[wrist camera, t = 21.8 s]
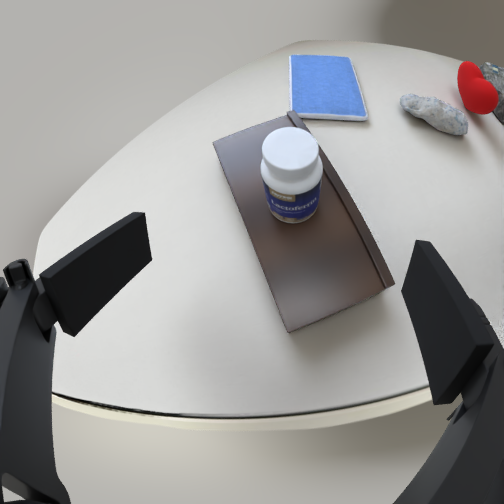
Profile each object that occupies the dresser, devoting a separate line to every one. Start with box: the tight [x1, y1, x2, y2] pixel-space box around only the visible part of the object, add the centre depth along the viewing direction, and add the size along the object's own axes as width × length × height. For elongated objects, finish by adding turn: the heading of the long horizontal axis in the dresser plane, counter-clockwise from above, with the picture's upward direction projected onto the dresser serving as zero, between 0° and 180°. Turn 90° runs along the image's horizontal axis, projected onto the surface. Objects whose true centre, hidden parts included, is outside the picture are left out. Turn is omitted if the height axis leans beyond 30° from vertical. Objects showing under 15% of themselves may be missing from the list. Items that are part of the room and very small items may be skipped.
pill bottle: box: [261, 127, 323, 223], centre depth 26 cm, size 6×6×10 cm
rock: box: [479, 63, 504, 123], centre depth 31 cm, size 18×14×10 cm
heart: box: [457, 61, 499, 114], centre depth 31 cm, size 12×5×10 cm, turn 4°
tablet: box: [289, 55, 368, 121], centre depth 40 cm, size 19×13×1 cm, turn 176°
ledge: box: [213, 110, 395, 333], centre depth 32 cm, size 26×12×5 cm, turn 21°
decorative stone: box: [400, 94, 468, 135], centre depth 33 cm, size 13×7×5 cm, turn 77°
